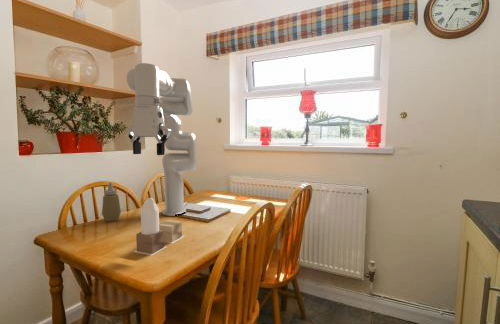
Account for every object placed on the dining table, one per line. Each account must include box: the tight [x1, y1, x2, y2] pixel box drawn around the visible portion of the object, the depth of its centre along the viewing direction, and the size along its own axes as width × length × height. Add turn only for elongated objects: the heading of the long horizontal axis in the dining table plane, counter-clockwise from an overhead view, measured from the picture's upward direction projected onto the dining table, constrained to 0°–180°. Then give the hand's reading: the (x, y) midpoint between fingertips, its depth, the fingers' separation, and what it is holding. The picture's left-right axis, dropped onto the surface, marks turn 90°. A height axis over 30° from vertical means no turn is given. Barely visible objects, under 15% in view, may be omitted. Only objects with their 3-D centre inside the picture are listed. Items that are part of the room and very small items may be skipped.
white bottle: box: [140, 197, 160, 235], centre depth 96 cm, size 6×12×6 cm
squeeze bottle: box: [101, 182, 122, 223], centre depth 133 cm, size 8×8×18 cm
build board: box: [133, 235, 185, 257], centre depth 103 cm, size 22×14×1 cm, turn 160°
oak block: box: [159, 219, 183, 243], centre depth 107 cm, size 6×6×6 cm
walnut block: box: [135, 230, 166, 254], centre depth 97 cm, size 6×6×6 cm
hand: (148, 154), depth 94 cm, fingers open, 9 cm apart
